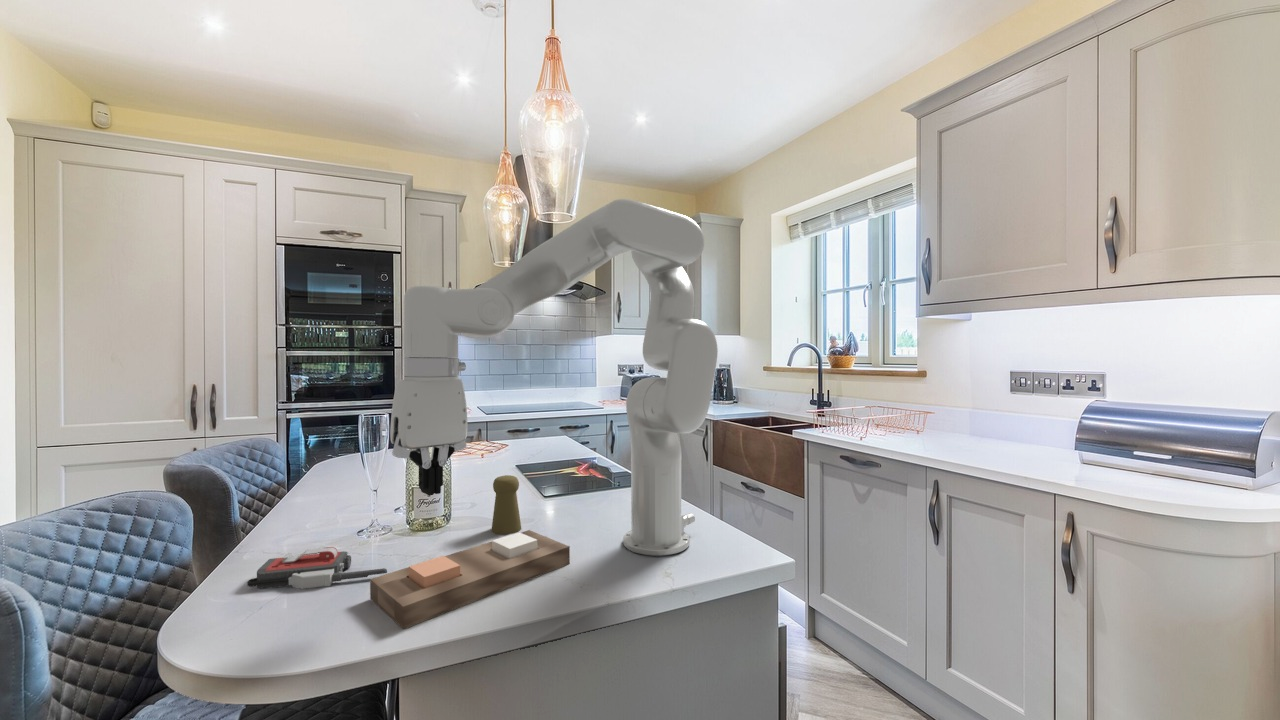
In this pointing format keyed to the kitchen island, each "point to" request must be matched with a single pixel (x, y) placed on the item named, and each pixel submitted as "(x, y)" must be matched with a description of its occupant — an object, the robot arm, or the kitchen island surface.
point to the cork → (506, 506)
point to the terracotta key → (433, 571)
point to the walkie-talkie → (308, 570)
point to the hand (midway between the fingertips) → (430, 492)
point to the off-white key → (514, 545)
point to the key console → (464, 580)
